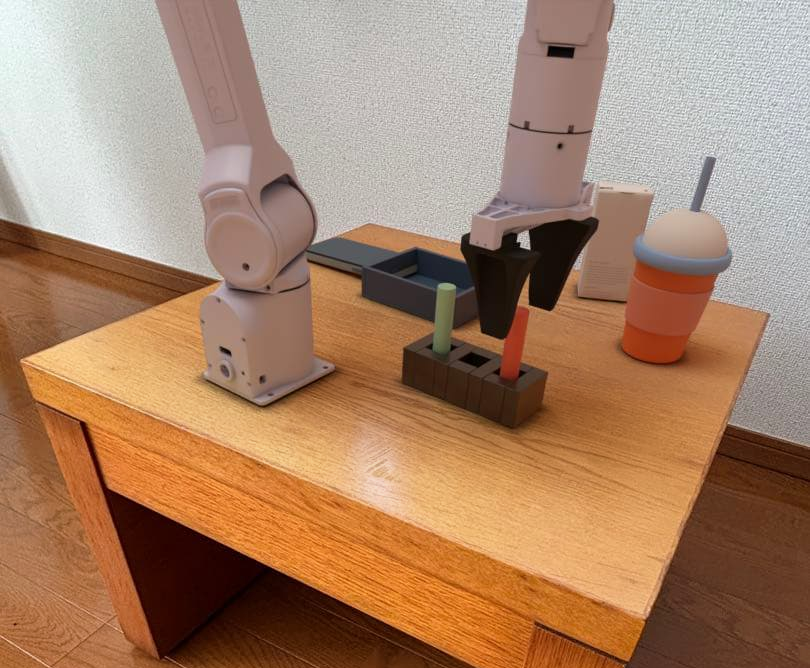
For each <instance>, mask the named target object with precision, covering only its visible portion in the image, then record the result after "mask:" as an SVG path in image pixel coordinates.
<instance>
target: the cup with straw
mask: <svg viewBox="0 0 810 668" xmlns="http://www.w3.org/2000/svg"><path fill="white" fill-rule="evenodd" d="M703 162H704V163H703V165H702V168H701V171H700V176H699V179H698V181H697V185H696V188H695V192H694V195H693V197H692V201H691V204H690V208H689V207H688V208H687V207H686V208H677V209H674V210H671V211H668V212H666V213H664V214H662V215H660V216H659V217H658V218H656V219H655V220H654V221H653V222H652V223H651V224H650V225H649V226H648V227H647V228H646V229H645V232H644V234H641V235H640V236H638V237H637V239H636V240H635V242H634V244H633V248H632V252H633V255H634V257H635V258H636V259H637V261H636V266H635V270H634V271H633V273H632V277H631V283H630V289H629V294H628V298H627V301H626V306H625V312H624V318H625V322H624V327H623V333H622V338H621V348H622V350H623V352H625V353H626V354H627V355H628V356H630V357H632V358H634V359H636V360H640V361H642V362H646V363H652V364H669V363H670V364H671V363H674V362H677V361H678V360H679V359H680V358H681V357H682V355H683V354H684V351H685V348H686V347H687V344H688V342H689V340H690V338H691V335H692V334H693V333H694V332H695V331H696V329H697V327H698V324H699V323H700V320H701V319H702V316H703V313H704V312H705V310H706V308H707V306H708V304H709V302H710V299H711V297H712V295H713V292H714V290H715V287H716V286H715V283H716V281H717V279H718V277H719V274H721V273H723V272H725V271H727V270H728V269H729V268H730V266H731V264H732V261H733V251H732V249H730V247H729V243H728V241H729V240H728V235H727V232H726V229H725V227H724V225H723V224H722V223H721V221H720V220H719V219H718V218H717V217H716V216H714V215H713V214H711V213H710V212H707V211H706V210H702V205H703V202H704V200H705V195H706V193H707V190H708V187H709V184H710V180H711V177H712V174H713V171H714V167H715V164H716V162H717V157H716V156H706V157H705V160H704V161H703Z"/></svg>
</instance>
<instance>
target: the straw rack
mask: <svg viewBox="0 0 810 668" xmlns="http://www.w3.org/2000/svg"><path fill="white" fill-rule="evenodd" d="M433 338H434V331H432V332H431V333H429V334H426V335H425V336H423V337H421V338H419V339H417V340H415V341H413V342H411V343H409V344H406V345H405V346H404V347H403V348H402V364H401V365H402V366H401V367H402V368H401V369H402V370H401V383H403V384H405V385H407V386H409V387H412V388H414V389H416V390H419V391H422V392H424V393H425V394H429V395H430V396H431V395H432V396H434V397H436V398H438V399H441V400H443V401H446V402H448V403H450V404H453V405H455V406H458V407H459V408H463V409H465V410H466V411H469V412H472V413H475V414H476V415H479V416H482V417H484V418H487V419H489V420H491V421H493V422H495V423H498V424H499V423H500V424H501V425H502V426H503V425H504V426H506V427H508V428H510V429H515V428H517V426H519V425H520V424H521V423H522V422H524V421H525V420H526V419H528V418H529V417H531V416H532V415H533V414H535V413H536V412H537V411H539V410H540V409H541V408H542V406H543V405H542V404H543V401H544V396H545V391H546V387H547V381H548V376H549V371H547V370H544V369H541V368H539V367H536V366H533V365H531V364H528V363H525V362H522V361H521V364H520V369H519V375H518V379H517V380H515V381H514V382H513V381H511V380H509V379H506V378H503V377H501V376H500V369H501V363H502V357H503V354H500V353H498V352H495V351H493V350H489V349H487V348H484V347H482V346H478V345H475V344H472V343H469V342H467V341H464V340H461V339H458V338H456V337H453V336H451V346H450V352H449V353H447V354H446V355H443V354H441V353H438V352H435V351H433Z"/></svg>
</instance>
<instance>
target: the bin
mask: <svg viewBox="0 0 810 668" xmlns="http://www.w3.org/2000/svg"><path fill="white" fill-rule="evenodd" d="M413 262H416V263H417V271H416V272H415V273H412V274H410V275H408V276H405V277H403V278H402V277H399V276H395V275H392V274H389V273H390V272H391V271H394V270H396V269H398V268H401V267H403V266H406V265H408V264H411V263H413ZM442 283H450V284H453V285H455V286H456V295H455V305H454V316H453V326H452V330H454V329H456V328H458V327H460V326H463V324H466V323H467V322H469V321H471V320H473V319H475V318H477V317H479V314H478V306H477V299H476V293H475V288H474V284H473V280H472V277H471V274H470V271H469V268H468V265H467V263H466V261H465V260H462V259H459V258H455V257H452V256H448V255H446V254H441V253H438V252H435V251H432V250H428V249H425V248H421V247H418V246H413V247H411V248H408V249H405V250H403V251H400V252H399V253H397V254H394V255H392V256H389V257H386V258H384V259H381V260H378V261H376V262H373V263H370V264H368V265H365V266H362V275H361V297H363V298H366V299H368V300H371V301H374V302H377V303H379V304H383V305H385V306H388V307H392V308H394V309H397V310H400V311H402V312H405V313H408V314H411V315H414V316H416V317H419V318H422V319H424V320H428V321H430V322H434V323H435V313H436V300H437V287H438V285H439V284H442Z"/></svg>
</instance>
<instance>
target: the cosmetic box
mask: <svg viewBox="0 0 810 668" xmlns="http://www.w3.org/2000/svg"><path fill="white" fill-rule="evenodd" d="M652 189H653V188H651V186H650V185H647V184H635V183H622V182H610V181H600V180H599V181H597V182H596V188H595V193H594V197H593V202H592V206H593V210H592V214H591V217H595V218H597V219H598V220H599V224H598V229H597V231H596V232H595V233H594V235H593V236H592V237H591V238H590V240H589V241H588V242H587V244H586V245H585V247H584V248H583V253H582V258H581V264H580V268H579V272H578V273H579V274H578V278H577V284H576V285H577V297H579V298H586V299H596V300H605V301H606V300H607V301H614V302H615V301H617V302H627V300H628V294H629V289H630V283H631V277H632V273H633V271H634V270H635V266H636V261H637V259H636V258H635V257H634V255H633V252H632V248H633V244H634V242H635V240H636V239H637V237H638V236H640V235H641V234H644V233H645V232H646V229H647V224H648V219H649V215H650V211H651V208H652V204H653V200H654V196H655V194H654V191H653V190H652Z"/></svg>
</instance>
